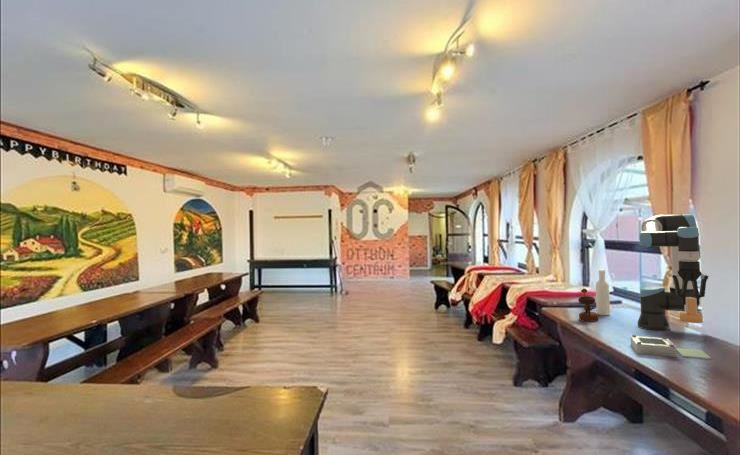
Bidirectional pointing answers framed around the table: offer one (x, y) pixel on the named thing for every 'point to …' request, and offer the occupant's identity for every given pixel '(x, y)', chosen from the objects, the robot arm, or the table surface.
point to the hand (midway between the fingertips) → (690, 312)
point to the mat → (692, 353)
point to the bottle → (602, 295)
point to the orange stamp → (691, 313)
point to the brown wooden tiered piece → (587, 308)
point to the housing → (653, 346)
